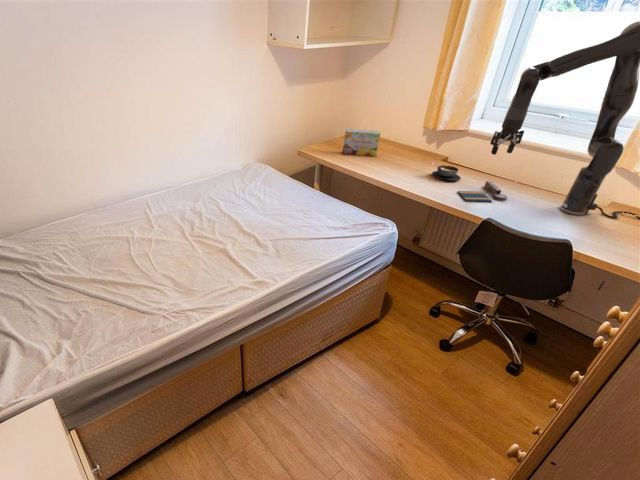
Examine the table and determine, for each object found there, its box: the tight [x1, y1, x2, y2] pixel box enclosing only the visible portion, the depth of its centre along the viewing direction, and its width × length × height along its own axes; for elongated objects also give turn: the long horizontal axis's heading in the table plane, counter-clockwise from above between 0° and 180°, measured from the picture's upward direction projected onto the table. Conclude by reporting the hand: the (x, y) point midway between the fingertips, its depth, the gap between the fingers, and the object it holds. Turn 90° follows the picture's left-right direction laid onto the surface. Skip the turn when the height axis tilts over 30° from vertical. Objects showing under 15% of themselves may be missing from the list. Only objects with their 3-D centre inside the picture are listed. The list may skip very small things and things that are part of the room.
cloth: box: [456, 190, 493, 203], centre depth 190 cm, size 12×11×1 cm
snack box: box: [342, 128, 381, 158], centre depth 243 cm, size 21×6×15 cm, turn 75°
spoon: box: [483, 180, 508, 202], centre depth 193 cm, size 17×6×3 cm, turn 175°
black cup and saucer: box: [431, 162, 462, 181], centre depth 211 cm, size 15×16×7 cm
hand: (501, 153), depth 178 cm, fingers open, 8 cm apart
